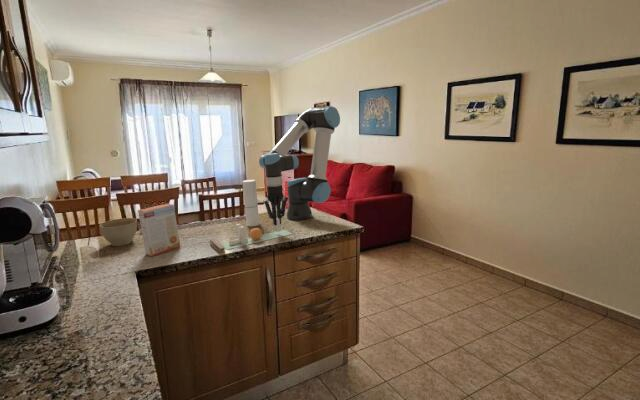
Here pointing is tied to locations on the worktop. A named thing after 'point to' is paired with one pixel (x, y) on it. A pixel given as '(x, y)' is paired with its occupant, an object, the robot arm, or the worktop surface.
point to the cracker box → (159, 229)
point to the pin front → (236, 241)
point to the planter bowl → (119, 231)
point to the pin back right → (238, 230)
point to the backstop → (217, 246)
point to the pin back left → (242, 235)
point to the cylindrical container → (250, 202)
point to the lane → (263, 238)
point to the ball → (255, 234)
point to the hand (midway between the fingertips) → (277, 230)
